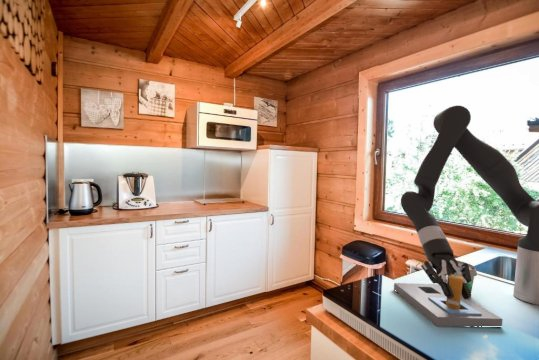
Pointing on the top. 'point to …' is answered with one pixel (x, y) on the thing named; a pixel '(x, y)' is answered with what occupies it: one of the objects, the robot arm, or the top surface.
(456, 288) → the supplement box
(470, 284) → the food container
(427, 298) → the board
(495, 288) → the top surface
